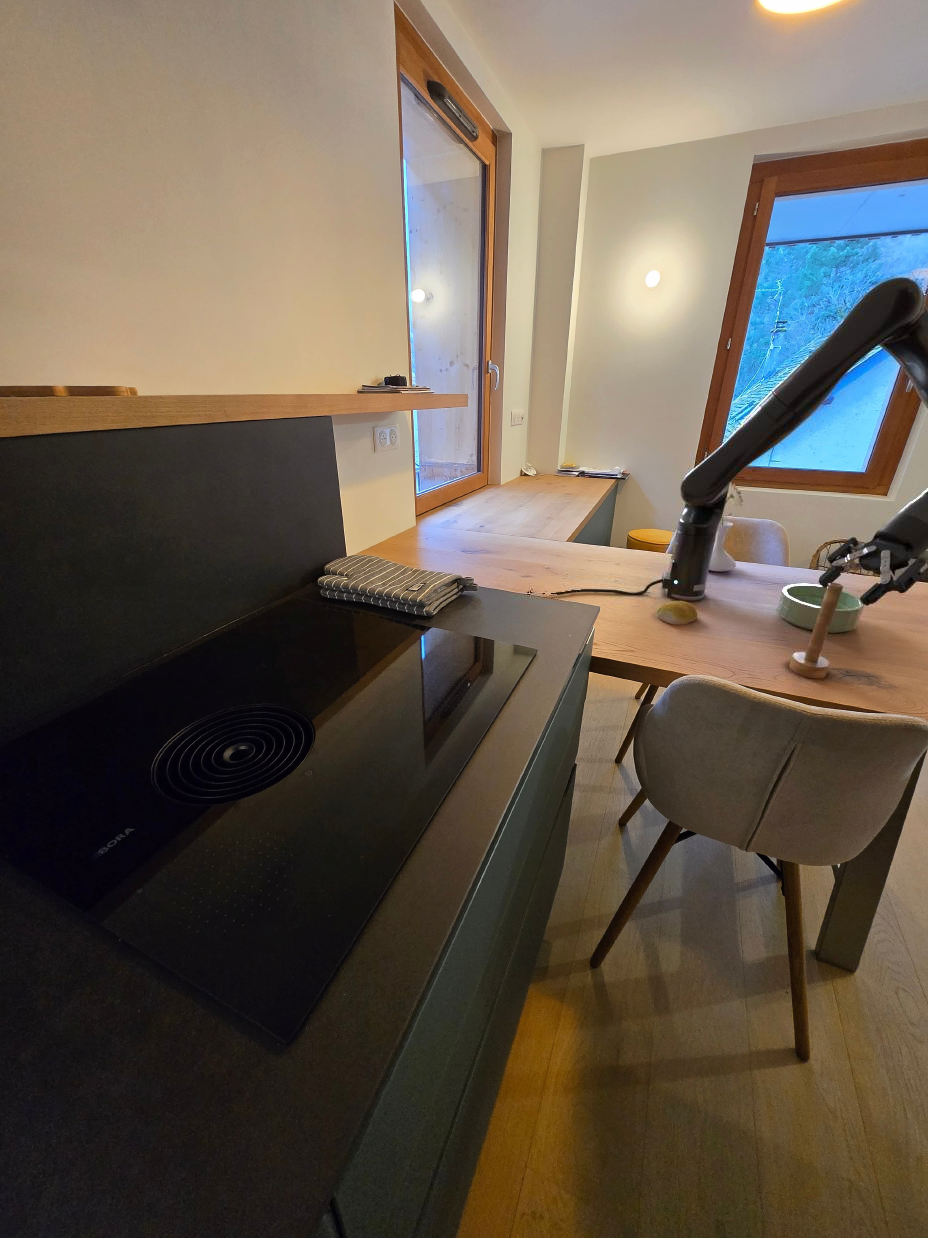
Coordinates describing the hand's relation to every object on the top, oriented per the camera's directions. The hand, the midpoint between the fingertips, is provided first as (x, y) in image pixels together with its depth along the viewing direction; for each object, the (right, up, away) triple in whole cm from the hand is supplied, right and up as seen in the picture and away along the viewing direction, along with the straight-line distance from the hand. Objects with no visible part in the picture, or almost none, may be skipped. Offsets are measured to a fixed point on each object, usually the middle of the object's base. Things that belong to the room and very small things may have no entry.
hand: (841, 593), depth 89 cm
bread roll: (-18, -5, +29) cm, 34 cm away
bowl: (+14, -5, +27) cm, 30 cm away
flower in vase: (+7, +11, +60) cm, 61 cm away
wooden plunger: (-2, -15, +7) cm, 16 cm away
